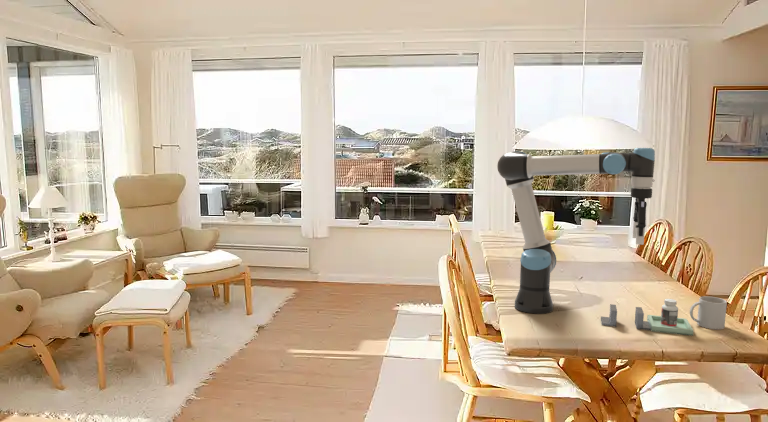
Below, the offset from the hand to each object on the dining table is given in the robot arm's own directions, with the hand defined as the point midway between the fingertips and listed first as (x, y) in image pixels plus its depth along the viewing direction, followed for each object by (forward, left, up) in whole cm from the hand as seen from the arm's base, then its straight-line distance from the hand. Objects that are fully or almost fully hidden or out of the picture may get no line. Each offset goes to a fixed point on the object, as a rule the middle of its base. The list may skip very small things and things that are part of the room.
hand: (637, 241), depth 220 cm
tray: (+11, -16, -29) cm, 35 cm away
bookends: (-4, -18, -29) cm, 34 cm away
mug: (+25, -8, -29) cm, 39 cm away
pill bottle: (+11, -16, -28) cm, 34 cm away
